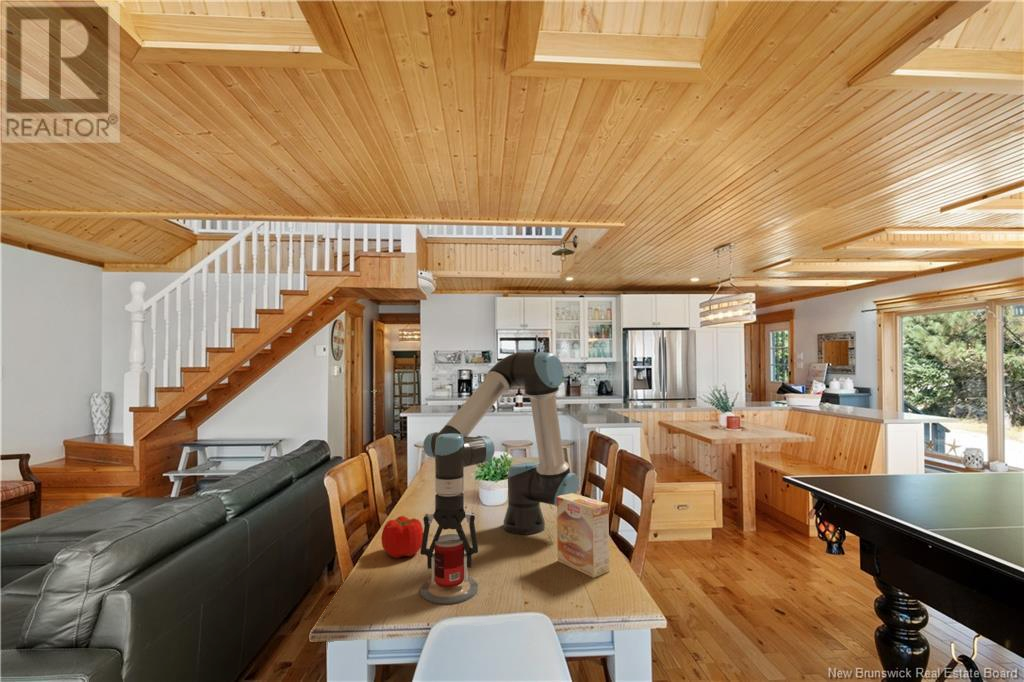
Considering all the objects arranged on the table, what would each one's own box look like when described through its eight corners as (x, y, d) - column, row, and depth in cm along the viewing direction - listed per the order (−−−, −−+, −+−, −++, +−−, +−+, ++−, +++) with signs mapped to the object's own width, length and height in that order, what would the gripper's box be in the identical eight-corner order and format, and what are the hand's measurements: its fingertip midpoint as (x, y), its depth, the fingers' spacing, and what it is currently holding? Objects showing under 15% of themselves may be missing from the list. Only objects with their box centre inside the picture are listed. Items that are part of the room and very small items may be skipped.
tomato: (424, 560, 147) (424, 525, 148) (380, 564, 145) (380, 528, 145) (423, 544, 161) (423, 512, 161) (382, 547, 158) (382, 514, 158)
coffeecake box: (556, 561, 146) (555, 496, 147) (573, 555, 150) (572, 492, 151) (593, 578, 134) (592, 507, 135) (610, 571, 138) (609, 502, 139)
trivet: (478, 577, 135) (478, 573, 135) (476, 603, 120) (476, 599, 120) (424, 578, 135) (424, 575, 135) (416, 605, 120) (416, 601, 120)
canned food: (469, 576, 130) (468, 535, 131) (456, 590, 122) (456, 546, 123) (443, 573, 133) (443, 532, 133) (429, 585, 125) (429, 542, 126)
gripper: (408, 497, 124) (408, 587, 123) (487, 495, 125) (488, 585, 124) (412, 489, 132) (412, 574, 131) (488, 488, 133) (488, 572, 132)
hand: (449, 580), depth 128 cm, fingers closed on canned food, 8 cm apart
